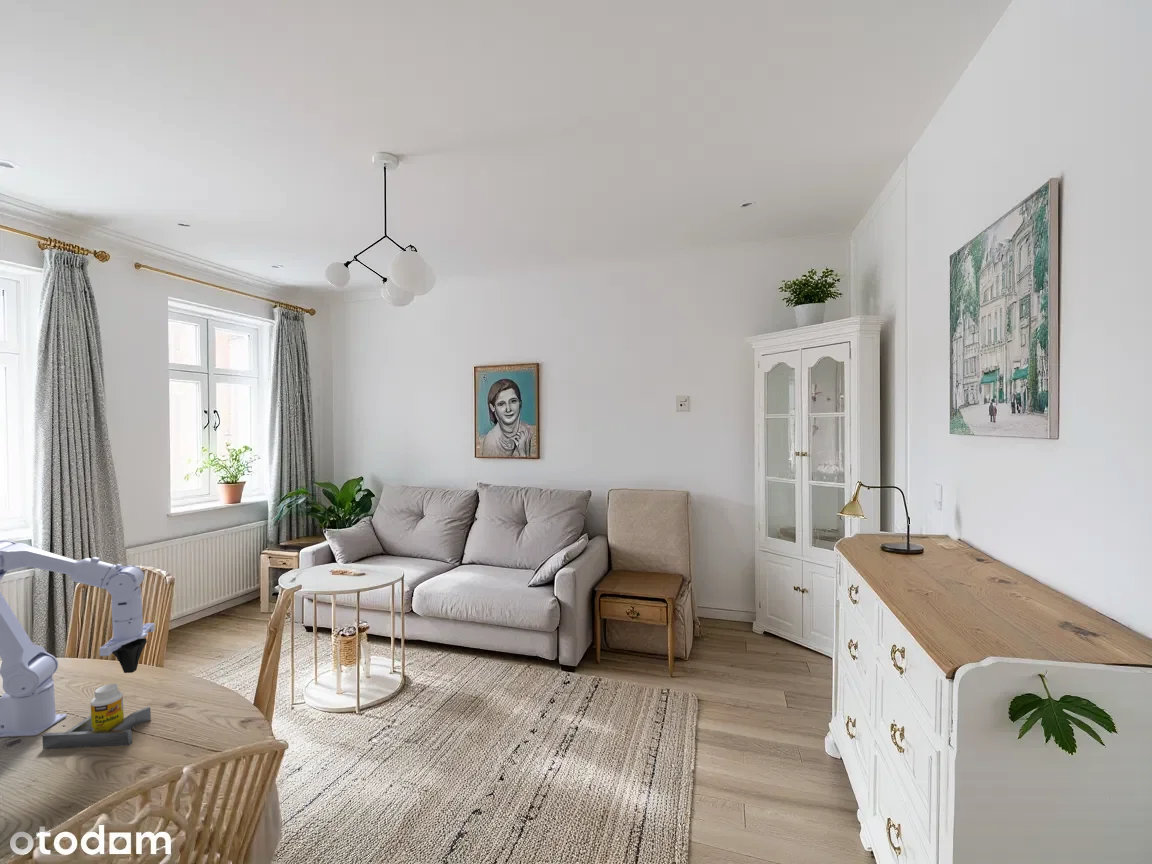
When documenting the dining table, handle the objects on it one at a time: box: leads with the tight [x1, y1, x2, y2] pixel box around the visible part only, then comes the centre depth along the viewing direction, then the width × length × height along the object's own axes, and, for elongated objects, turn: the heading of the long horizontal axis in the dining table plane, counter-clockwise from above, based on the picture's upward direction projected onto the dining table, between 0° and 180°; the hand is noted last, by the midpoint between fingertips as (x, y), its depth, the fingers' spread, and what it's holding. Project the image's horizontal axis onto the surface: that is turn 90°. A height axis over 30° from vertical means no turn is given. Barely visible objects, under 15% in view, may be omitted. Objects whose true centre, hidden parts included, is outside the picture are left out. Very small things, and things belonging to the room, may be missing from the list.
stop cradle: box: [41, 705, 152, 750], centre depth 123 cm, size 18×10×3 cm, turn 93°
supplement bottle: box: [90, 683, 125, 731], centre depth 123 cm, size 6×6×10 cm
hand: (130, 671), depth 133 cm, fingers closed
